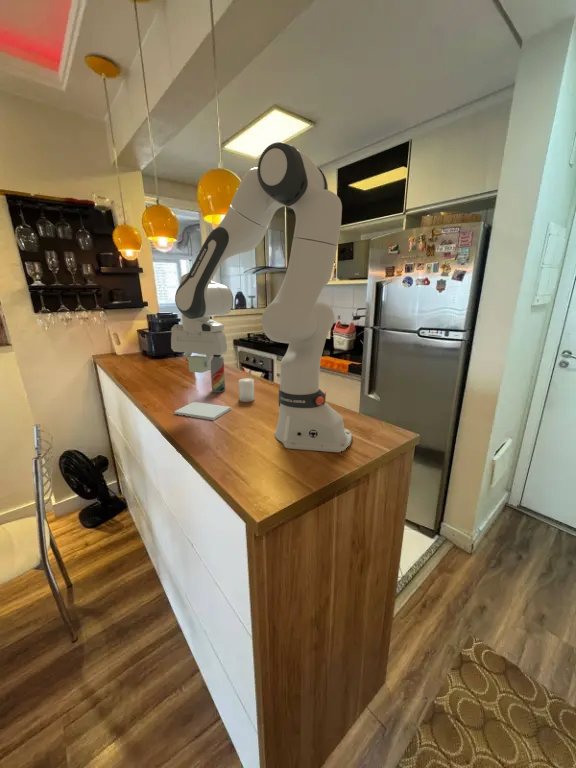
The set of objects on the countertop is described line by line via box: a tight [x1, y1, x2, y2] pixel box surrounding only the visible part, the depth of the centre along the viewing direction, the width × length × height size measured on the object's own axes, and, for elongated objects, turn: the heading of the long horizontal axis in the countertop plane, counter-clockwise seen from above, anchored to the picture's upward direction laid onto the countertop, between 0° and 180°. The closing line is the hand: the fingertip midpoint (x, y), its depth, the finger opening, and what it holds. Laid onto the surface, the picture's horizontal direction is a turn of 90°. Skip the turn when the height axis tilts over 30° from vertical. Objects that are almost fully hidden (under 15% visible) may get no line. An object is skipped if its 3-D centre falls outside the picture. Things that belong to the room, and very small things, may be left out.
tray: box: [174, 401, 232, 421], centre depth 110 cm, size 16×11×1 cm
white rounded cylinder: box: [238, 377, 255, 403], centre depth 122 cm, size 6×6×8 cm
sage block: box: [187, 354, 211, 374], centre depth 105 cm, size 5×5×5 cm
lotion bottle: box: [210, 355, 226, 393], centre depth 132 cm, size 6×6×20 cm
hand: (199, 366), depth 105 cm, fingers closed on sage block, 5 cm apart
